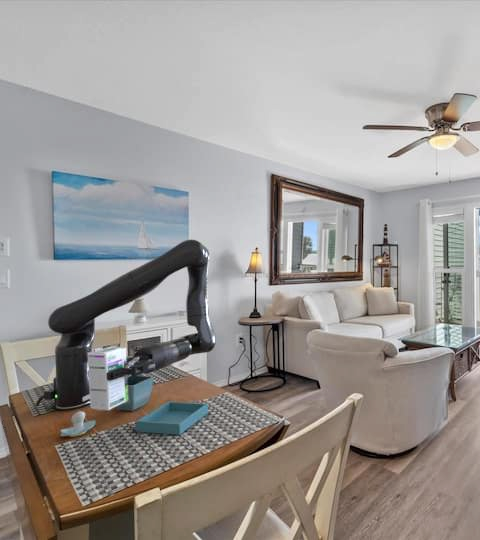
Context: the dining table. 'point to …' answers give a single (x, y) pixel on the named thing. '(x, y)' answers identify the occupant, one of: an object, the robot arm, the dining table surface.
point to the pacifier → (78, 425)
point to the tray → (172, 418)
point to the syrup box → (101, 389)
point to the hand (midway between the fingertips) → (98, 375)
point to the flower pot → (137, 392)
